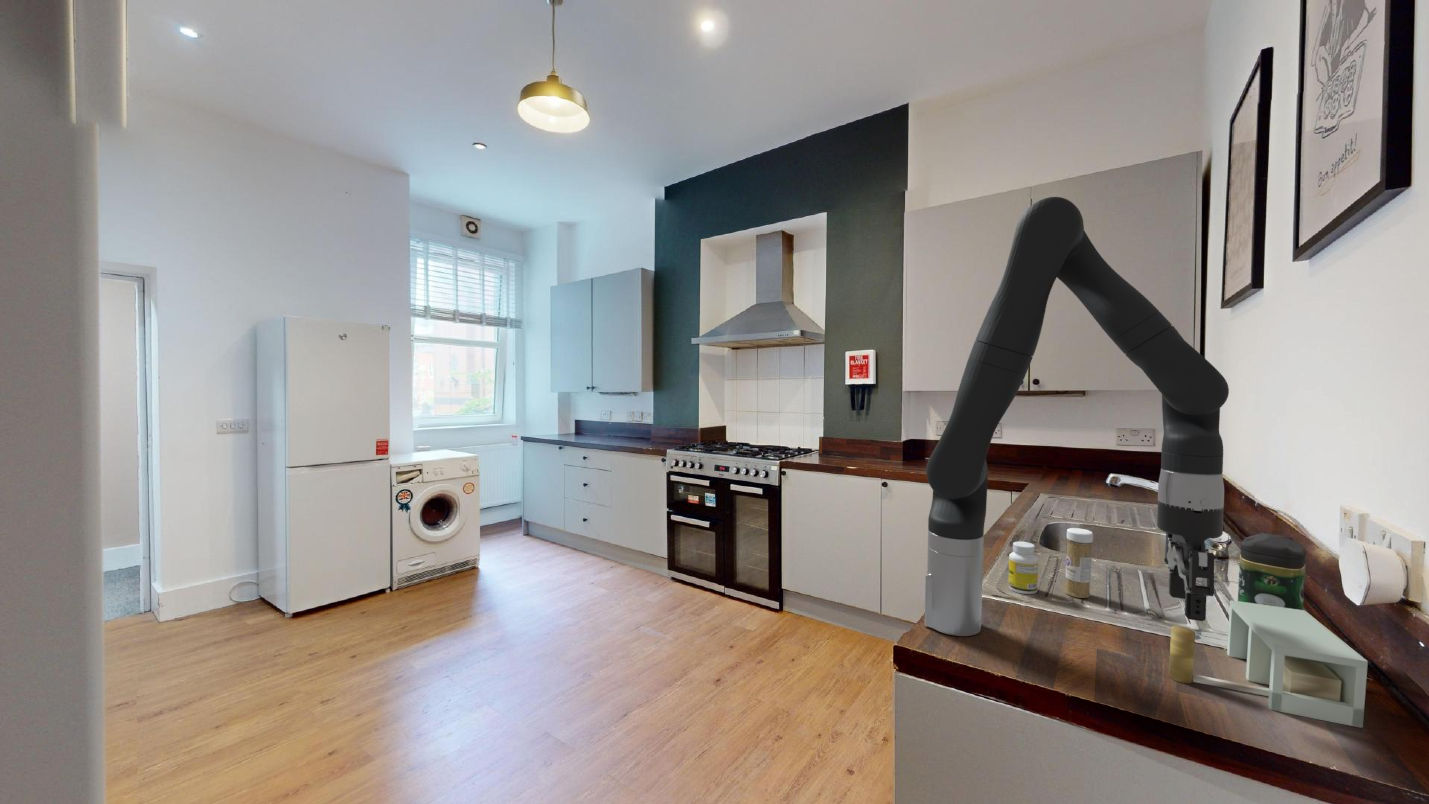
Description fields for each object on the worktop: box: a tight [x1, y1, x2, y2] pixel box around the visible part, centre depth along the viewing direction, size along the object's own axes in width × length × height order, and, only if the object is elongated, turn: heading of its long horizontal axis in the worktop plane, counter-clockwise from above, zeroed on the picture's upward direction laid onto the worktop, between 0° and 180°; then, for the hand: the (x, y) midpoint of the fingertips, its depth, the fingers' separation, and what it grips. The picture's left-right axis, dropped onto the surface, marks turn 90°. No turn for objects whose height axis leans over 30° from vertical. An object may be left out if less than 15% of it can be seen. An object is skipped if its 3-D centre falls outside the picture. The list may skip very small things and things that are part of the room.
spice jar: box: [1063, 527, 1094, 599], centre depth 118 cm, size 5×5×14 cm
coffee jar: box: [1237, 532, 1307, 610], centre depth 96 cm, size 10×8×19 cm
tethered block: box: [1168, 625, 1341, 702], centre depth 83 cm, size 18×5×8 cm, turn 64°
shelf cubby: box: [1226, 600, 1369, 729], centre depth 84 cm, size 9×17×9 cm, turn 154°
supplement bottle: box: [1008, 541, 1039, 595], centre depth 120 cm, size 5×5×10 cm
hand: (1186, 607), depth 86 cm, fingers open, 8 cm apart
